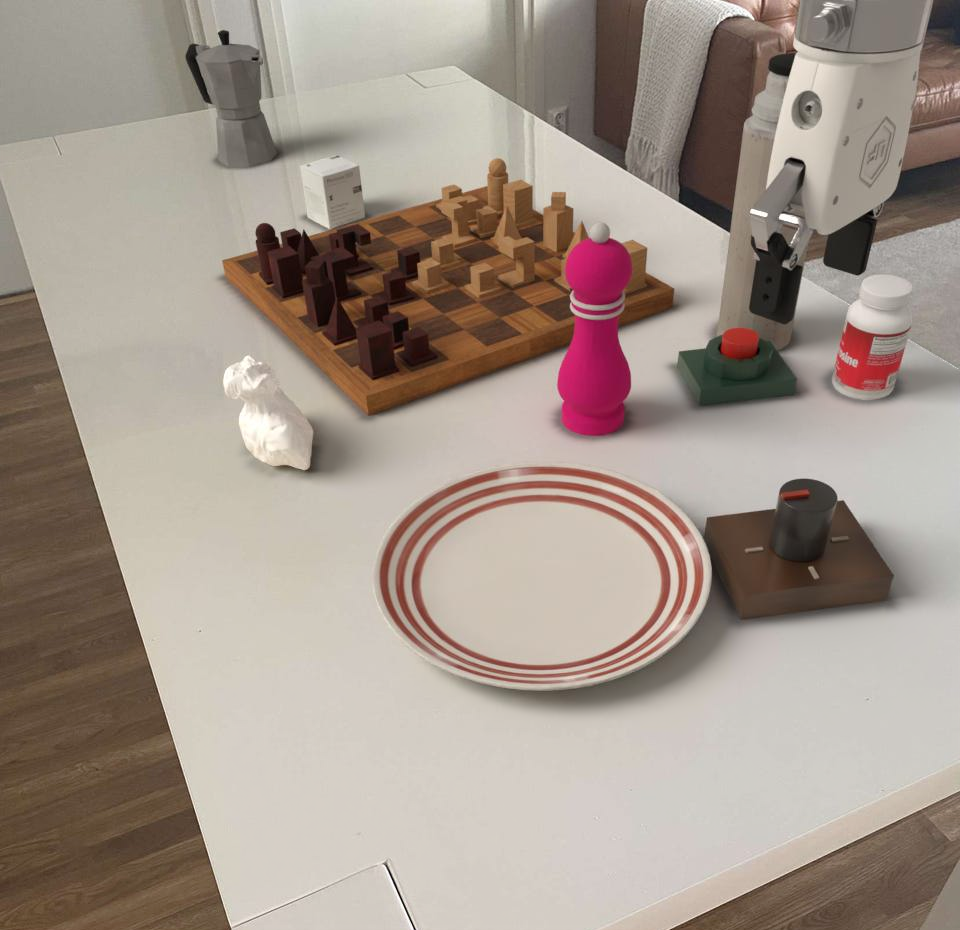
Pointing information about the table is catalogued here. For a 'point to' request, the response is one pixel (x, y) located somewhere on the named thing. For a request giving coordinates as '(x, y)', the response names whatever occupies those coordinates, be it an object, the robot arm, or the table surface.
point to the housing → (735, 374)
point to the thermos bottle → (747, 193)
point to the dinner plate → (542, 576)
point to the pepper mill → (596, 336)
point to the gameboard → (430, 290)
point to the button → (739, 343)
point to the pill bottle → (874, 338)
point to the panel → (794, 566)
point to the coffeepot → (233, 100)
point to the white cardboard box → (333, 191)
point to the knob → (802, 519)
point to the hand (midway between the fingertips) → (807, 292)
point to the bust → (268, 416)
